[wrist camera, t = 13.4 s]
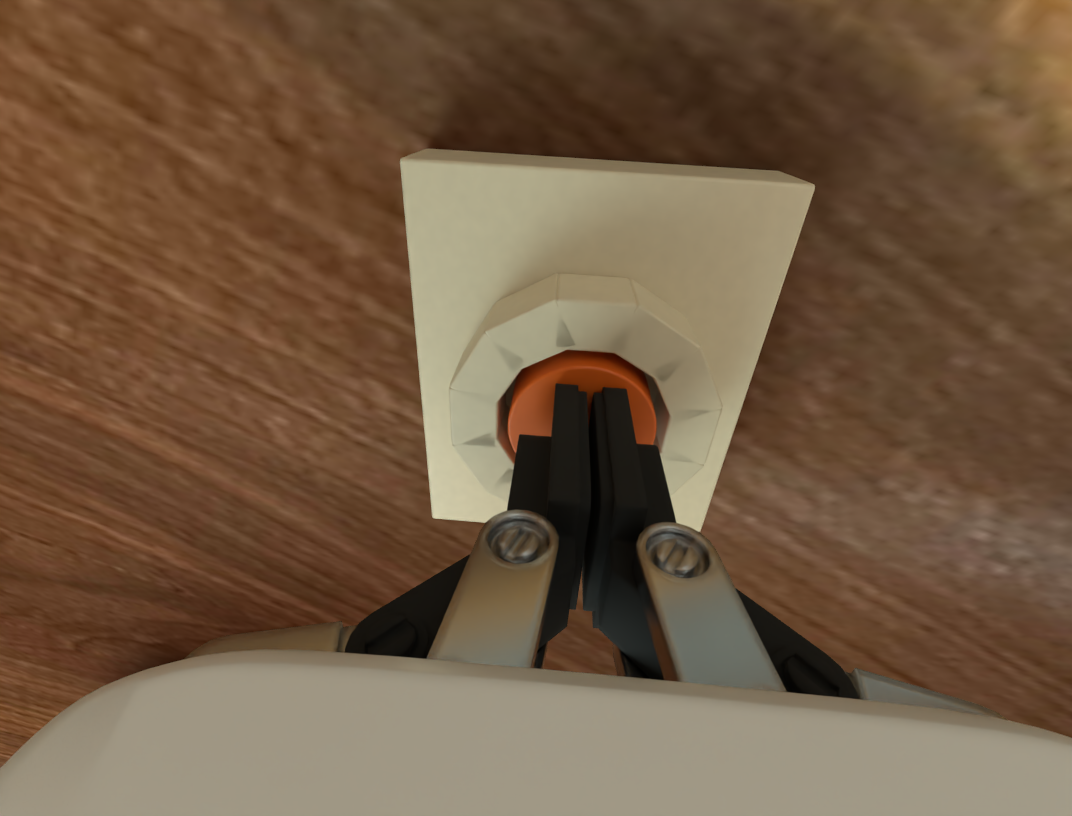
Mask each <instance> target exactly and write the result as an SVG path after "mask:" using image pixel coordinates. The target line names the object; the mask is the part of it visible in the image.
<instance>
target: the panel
mask: <svg viewBox="0 0 1072 816" xmlns="http://www.w3.org/2000/svg"><path fill="white" fill-rule="evenodd" d="M400 168H401V179H402V190H403V201H404V212H405V223H406V234H407V245H408V256H409V267H410V278H411V289H412V299H413V310H414V321H415V332H416V343H417V354H418V365H419V376H420V387H421V398H422V409H423V420H424V431H425V442H426V453H427V464H428V475H429V486H430V497H431V508H432V517H433V518H436V519H448V520H460V521H472V522H484V523H486V522H487V521H488V520H489V519H491V518H492V517H493V516H494V515H497V514H499V513H502V512H504V511H507V506H508V500H509V494H510V488H511V481H512V475H513V469H514V463H515V457H516V453H515V451H514V450H513V448H512V445H511V443H510V440H509V435H508V416H509V411H510V406H511V401H512V396H513V391H514V386H515V382H516V378H517V375H518V374H519V372H520V371H521V370H522V369H523V368H525V367H528V366H530V365H532V364H535V363H537V362H539V361H542V360H544V359H546V358H549V357H551V356H553V355H556V354H558V353H560V352H563V351H565V350H580V351H594V352H607V353H615V354H617V355H618V356H620V357H621V358H623V359H624V360H626V361H628V362H629V363H631V364H632V365H634V366H635V367H637V368H638V369H640V370H642V371H643V372H644V373H645V376H646V379H647V383H648V387H649V391H650V395H651V398H652V402H653V406H654V410H655V415H656V420H657V430H656V437H655V440H654V443H653V445H656V446H658V449H659V452H660V456H661V460H662V465H663V469H664V473H665V477H666V481H667V485H668V490H669V494H670V498H671V502H672V506H673V510H674V514H675V519H676V523H679V524H682V525H685V526H688V527H691V528H692V529H694V530H696V531H698V532H700V531H701V528H702V525H703V522H704V519H705V516H706V513H707V510H708V507H709V504H710V501H711V498H712V495H713V492H714V489H715V486H716V483H717V480H718V477H719V474H720V471H721V468H722V465H723V462H724V459H725V456H726V453H727V450H728V447H729V444H730V441H731V438H732V435H733V432H734V429H735V426H736V423H737V420H738V417H739V414H740V411H741V408H742V405H743V402H744V399H745V396H746V393H747V390H748V387H749V384H750V381H751V378H752V375H753V372H754V369H755V366H756V363H757V360H758V357H759V354H760V351H761V348H762V345H763V342H764V339H765V336H766V333H767V330H768V327H769V324H770V321H771V318H772V315H773V312H774V309H775V306H776V303H777V300H778V297H779V294H780V291H781V288H782V285H783V282H784V279H785V276H786V273H787V270H788V267H789V264H790V261H791V259H792V256H793V253H794V250H795V247H796V244H797V241H798V238H799V235H800V232H801V229H802V226H803V223H804V220H805V217H806V214H807V211H808V208H809V205H810V202H811V199H812V196H813V193H814V190H815V185H814V184H812V183H809V182H807V181H804V180H801V179H799V178H796V177H793V176H791V175H788V174H785V173H783V172H780V171H772V170H756V169H741V168H725V167H709V166H694V165H678V164H662V163H647V162H631V161H615V160H600V159H584V158H568V157H552V156H537V155H521V154H505V153H490V152H474V151H458V150H443V149H424V150H422V151H419V152H416V153H414V154H411V155H408V156H406V157H403V158H401V160H400Z"/></svg>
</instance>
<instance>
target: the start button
mask: <svg viewBox="0 0 1072 816" xmlns="http://www.w3.org/2000/svg"><path fill="white" fill-rule="evenodd" d="M556 383H558V384H571V385H578V391H584V392H587V406H588V428H589V420H590V413H591V405H592V398H593V393H594V392H597V393H602V388H603V387H610V388H623V389H627V393H628V399H629V404H630V410H631V416H632V421H633V427H634V432H635V438H636V443H637V444H649V445H653V443H654V440H655V437H656V430H657V420H656V415H655V410H654V406H653V402H652V398H651V395H650V391H649V387H648V383H647V379H646V376H645V373H644V372H643V371H642V370H640V369H638V368H637V367H635V366H634V365H632V364H631V363H629V362H628V361H626V360H624V359H623V358H621V357H620V356H618V355H617V354H615V353H607V352H594V351H580V350H565V351H563V352H560V353H558V354H556V355H553V356H551V357H549V358H546V359H544V360H542V361H539V362H537V363H535V364H532V365H530V366H528V367H525V368H523V369H522V370H521V371H520V372H519V374H518V375H517V378H516V382H515V386H514V391H513V396H512V401H511V406H510V411H509V416H508V435H509V440H510V443H511V445H512V448H513V450H514V451H515V453H516V450H517V444H518V438H519V434H524V435H536V436H549V437H551V432H552V420H553V408H554V396H555V385H556Z"/></svg>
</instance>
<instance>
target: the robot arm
mask: <svg viewBox="0 0 1072 816" xmlns="http://www.w3.org/2000/svg"><path fill="white" fill-rule="evenodd" d="M581 571H582V584H583V610H585V611H592V616H593V628H599V629H600V630H601V631H602V632H603V633H604V634H605V635H606V636H607V637H608V638H609V639H610V640H611V641H612V642H613V658H614V662H615V667H616V671H617V676H612V675H601V674H590V673H579V672H569V671H558V670H547V669H543V666H544V662H545V657H546V652H547V644H548V641H549V640H551V639H552V638H553V637H554V636H556V635H557V634H558V633H559V632H560V631H562V630H563V629H564V628H565V627H567V621H568V614H569V609H574V610H575V609H576V604H577V597H578V591H579V584H580V578H581ZM0 816H1072V738H1070V737H1067V736H1064V735H1061V734H1057V733H1054V732H1051V731H1048V730H1045V729H1042V728H1038V727H1034V726H1030V725H1025V724H1021V723H1017V722H1013V721H1009V720H1007V719H1006V718H1004V717H1003V716H1001V715H1000V714H998V713H997V712H995V711H992V710H990V709H988V708H985V707H983V706H981V705H978V704H975V703H972V702H968V701H965V700H962V699H958V698H955V697H951V696H948V695H945V694H941V693H938V692H935V691H931V690H928V689H925V688H921V687H918V686H914V685H911V684H908V683H904V682H901V681H898V680H894V679H891V678H888V677H884V676H881V675H877V674H874V673H871V672H867V671H864V670H861V669H857V668H855V669H854V670H853V671H852V673H848V672H844V670H843V669H842V668H841V667H840V666H839V665H838V664H837V663H836V662H835V661H834V660H832V659H831V658H830V657H829V656H828V655H827V654H825V653H824V652H823V651H821V650H820V649H819V648H817V647H816V646H814V645H813V644H812V643H810V642H809V641H808V640H806V639H805V638H803V637H802V636H801V635H799V634H798V633H797V632H795V631H794V630H792V629H791V628H790V627H788V626H787V625H786V624H784V623H783V622H781V621H780V620H779V619H777V618H776V617H775V616H773V615H772V614H770V613H769V612H768V611H766V610H765V609H764V608H762V607H761V606H759V605H758V604H757V603H755V602H754V601H753V600H751V599H750V598H748V597H747V596H746V595H744V594H743V593H742V592H740V591H739V590H737V589H736V588H735V587H734V585H733V583H732V581H731V579H730V577H729V575H728V573H727V571H726V569H725V567H724V565H723V563H722V561H721V559H720V557H719V555H718V553H717V551H716V549H715V548H714V546H713V545H712V543H711V542H710V541H709V540H708V539H707V538H706V537H705V536H703V535H702V534H701V533H700V532H698V531H696V530H694V529H692V528H691V527H688V526H685V525H682V524H679V523H676V519H675V514H674V510H673V506H672V502H671V498H670V494H669V490H668V485H667V481H666V477H665V473H664V469H663V465H662V460H661V456H660V452H659V449H658V446H656V445H649V444H637V443H636V438H635V432H634V427H633V421H632V416H631V410H630V404H629V399H628V393H627V389H623V388H610V387H603V388H602V393H597V392H594V393H593V398H592V405H591V413H590V420H589V428H588V406H587V392H584V391H578V385H571V384H558V383H556V385H555V396H554V408H553V420H552V432H551V437H549V436H536V435H524V434H519V438H518V444H517V450H516V457H515V463H514V469H513V475H512V481H511V488H510V494H509V500H508V506H507V511H504V512H502V513H499V514H497V515H494V516H493V517H492V518H491V519H489V520H488V521H487V522H486V523H485V524H484V526H483V527H482V529H481V530H480V533H479V535H478V537H477V540H476V542H475V545H474V547H473V549H472V552H471V554H470V555H468V556H466V557H465V558H463V559H461V560H460V561H458V562H456V563H455V564H453V565H451V566H450V567H448V568H446V569H445V570H443V571H441V572H440V573H438V574H436V575H435V576H433V577H431V578H430V579H428V580H426V581H425V582H423V583H421V584H420V585H418V586H416V587H415V588H413V589H411V590H410V591H408V592H406V593H405V594H403V595H401V596H400V597H398V598H396V599H395V600H393V601H391V602H390V603H388V604H386V605H385V606H383V607H381V608H380V609H378V610H376V611H375V612H373V613H372V614H370V615H369V616H368V617H366V618H365V619H364V620H363V621H361V622H360V623H359V624H358V625H355V626H348V627H343V624H342V621H338V622H330V623H322V624H314V625H306V626H298V627H290V628H282V629H274V630H266V631H258V632H250V633H242V634H234V635H227V636H224V637H220V638H216V639H213V640H210V641H209V642H207V643H205V644H203V645H202V646H200V647H198V648H196V649H195V650H194V651H193V652H191V653H190V654H189V655H188V656H187V657H186V658H185V659H184V660H180V661H175V662H171V663H168V664H164V665H160V666H157V667H153V668H149V669H146V670H143V671H140V672H137V673H135V674H132V675H129V676H126V677H124V678H121V679H119V680H117V681H114V682H112V683H109V684H107V685H105V686H102V687H101V688H99V689H97V690H95V691H93V692H91V693H90V694H88V695H86V696H84V697H82V698H81V699H79V700H78V701H76V702H75V703H73V704H72V705H71V706H69V707H68V708H66V709H65V710H64V711H62V712H61V713H59V714H58V715H57V716H56V717H54V718H53V719H52V720H51V721H50V722H49V723H47V724H46V725H45V726H44V727H43V728H41V729H40V730H39V731H38V732H37V733H36V734H35V735H34V736H33V737H32V738H30V739H29V740H28V741H27V742H26V743H25V744H24V745H23V746H22V747H21V748H20V749H19V750H18V751H17V752H16V753H15V754H14V755H13V756H12V757H11V758H10V759H9V760H8V761H7V762H6V763H5V764H4V765H3V766H2V767H1V768H0Z"/></svg>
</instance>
